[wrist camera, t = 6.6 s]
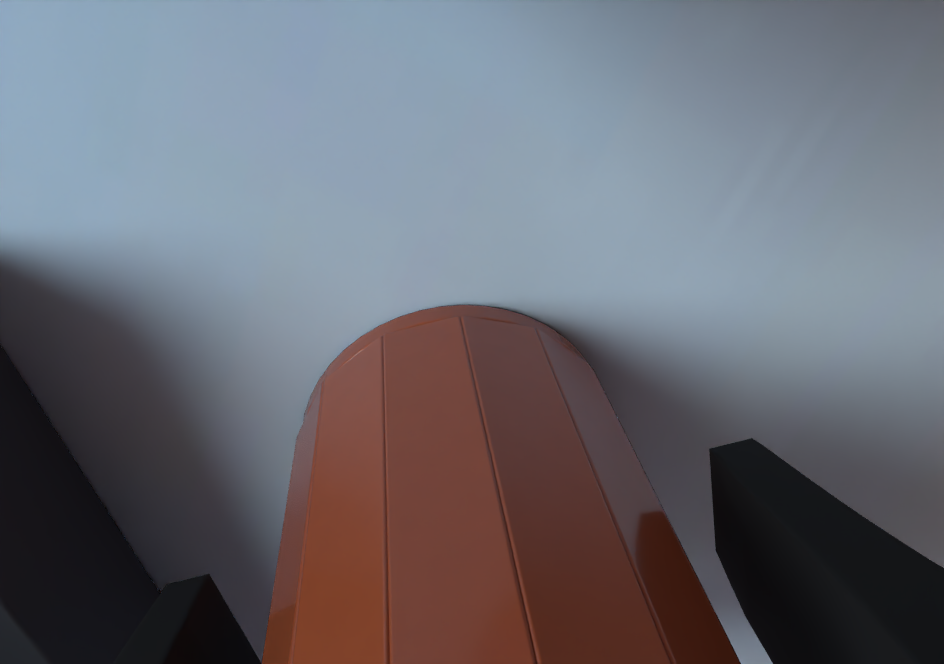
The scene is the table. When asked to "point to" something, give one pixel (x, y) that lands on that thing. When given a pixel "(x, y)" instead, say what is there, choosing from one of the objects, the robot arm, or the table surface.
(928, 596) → the robot arm
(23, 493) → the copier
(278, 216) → the table surface
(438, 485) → the mug
